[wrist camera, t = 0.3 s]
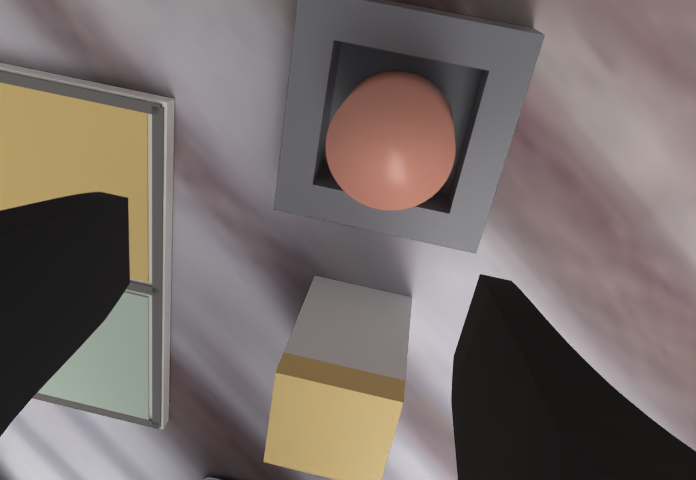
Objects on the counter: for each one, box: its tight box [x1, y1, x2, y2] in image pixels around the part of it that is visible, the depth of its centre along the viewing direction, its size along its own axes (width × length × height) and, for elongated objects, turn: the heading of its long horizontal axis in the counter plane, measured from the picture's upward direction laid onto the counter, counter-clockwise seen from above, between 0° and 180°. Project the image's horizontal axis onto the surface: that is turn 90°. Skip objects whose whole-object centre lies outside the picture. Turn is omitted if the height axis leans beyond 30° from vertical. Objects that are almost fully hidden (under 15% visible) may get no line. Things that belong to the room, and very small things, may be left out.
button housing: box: [274, 0, 545, 253], centre depth 18 cm, size 7×7×2 cm
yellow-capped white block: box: [263, 276, 412, 480], centre depth 20 cm, size 4×4×6 cm
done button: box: [326, 70, 456, 211], centre depth 16 cm, size 4×4×2 cm
